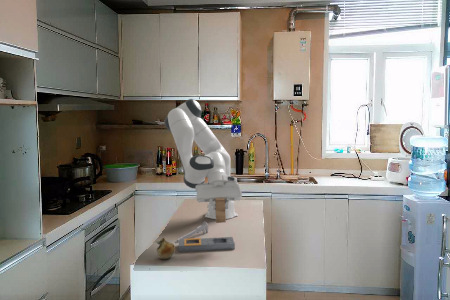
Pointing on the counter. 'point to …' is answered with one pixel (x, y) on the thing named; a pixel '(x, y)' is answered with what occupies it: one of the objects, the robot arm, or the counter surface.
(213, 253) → the counter surface
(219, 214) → the peg
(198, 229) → the caliper
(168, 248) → the onion
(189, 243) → the rail
